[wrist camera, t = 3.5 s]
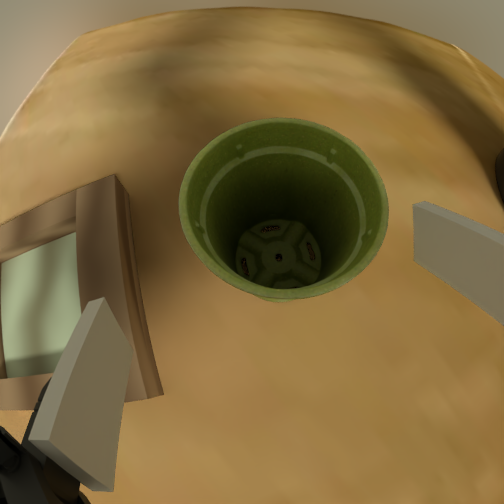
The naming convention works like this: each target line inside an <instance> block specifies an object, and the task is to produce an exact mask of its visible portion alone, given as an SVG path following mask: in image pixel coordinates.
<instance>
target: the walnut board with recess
mask: <svg viewBox="0 0 504 504" xmlns="http://www.w3.org/2000/svg"><path fill="white" fill-rule="evenodd" d="M103 297H105V299H106V301H107V303H108V305H109V307H110V309H111V311H112V313H113V315H114V317H115V319H116V320H117V322H118V324H119V326H120V328H121V330H122V331H123V333H124V335H125V337H126V338H127V340H128V342H129V344H130V345H131V347H132V349H133V356H132V361H131V366H130V371H129V377H128V382H127V388H126V394H125V400H124V402H131V401H138V400H144V399H149V398H153V397H157V396H161V395H164V393H163V389H162V386H161V382H160V378H159V374H158V370H157V366H156V362H155V358H154V354H153V350H152V345H151V341H150V336H149V332H148V327H147V322H146V317H145V312H144V307H143V301H142V296H141V290H140V284H139V278H138V272H137V265H136V258H135V251H134V243H133V235H132V226H131V216H130V206H129V194H128V193H127V191H126V190H125V189H124V187H123V186H122V184H121V183H120V181H119V180H118V179H117V177H116V176H115V174H113V175H111V176H108V177H105V178H103V179H100V180H98V181H95V182H93V183H90V184H88V185H85V186H83V187H81V188H78V189H76V190H74V191H71V192H69V193H67V194H65V195H62V196H60V197H58V198H56V199H53V200H51V201H49V202H47V203H45V204H43V205H41V206H39V207H37V208H35V209H32V210H30V211H28V212H26V213H24V214H23V215H21V216H19V217H17V218H15V219H13V220H11V221H9V222H7V223H5V224H4V225H2V226H0V410H34V407H35V405H36V402H38V397H39V395H40V393H41V390H42V388H43V387H44V386H45V384H46V383H47V382H48V380H49V379H50V378H51V377H52V376H53V373H54V371H55V369H56V367H57V364H58V362H59V360H60V358H61V356H62V353H63V351H64V349H65V347H66V345H67V343H68V341H69V339H70V337H71V335H72V333H73V331H74V329H75V327H76V325H77V323H78V321H79V319H80V317H81V315H82V313H83V311H84V309H85V308H86V306H87V304H88V302H89V301H93V300H96V299H99V298H103Z"/></svg>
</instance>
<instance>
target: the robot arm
mask: <svg viewBox="0 0 504 504" xmlns="http://www.w3.org/2000/svg"><path fill="white" fill-rule="evenodd" d="M496 177H497V182H498V186H499V190H500V193H501V196H502V198H503V201H504V149H503V150H502V151H501V152H500V154H499V155H498V157H497V159H496ZM413 223H414V261H415V262H416V263H418V264H419V265H421V266H422V267H424V268H425V269H427V270H428V271H429V272H431V273H432V274H434V275H435V276H437V277H438V278H440V279H441V280H443V281H444V282H445V283H447V284H448V285H450V286H451V287H453V288H454V289H455V290H457V291H458V292H460V293H461V294H462V295H464V296H465V297H466V298H468V299H469V300H471V301H472V302H473V303H475V304H476V305H477V306H479V307H480V308H481V309H483V310H484V311H485V312H487V313H488V314H489V315H490V316H492V317H493V318H494V319H496V320H497V321H498V322H499V323H501V324H502V325H503V326H504V234H502V233H500V232H498V231H496V230H494V229H492V228H489V227H487V226H485V225H483V224H480V223H478V222H476V221H474V220H471V219H469V218H467V217H464V216H462V215H459V214H457V213H454V212H452V211H449V210H447V209H444V208H442V207H439V206H437V205H434V204H431V203H429V202H426V201H423V202H420V203H417V204H413ZM132 356H133V349H132V347H131V345H130V344H129V342H128V340H127V338H126V337H125V335H124V333H123V331H122V330H121V328H120V326H119V324H118V322H117V320H116V319H115V317H114V315H113V313H112V311H111V309H110V307H109V305H108V303H107V301H106V299H105V297H103V298H99V299H96V300H93V301H89V302H88V304H87V306H86V308H85V309H84V311H83V313H82V315H81V317H80V319H79V321H78V323H77V325H76V327H75V329H74V331H73V333H72V335H71V337H70V339H69V341H68V343H67V345H66V347H65V349H64V351H63V353H62V356H61V358H60V360H59V362H58V364H57V367H56V369H55V371H54V373H53V376H52V377H51V378H50V379H49V380H48V382H47V383H46V384H45V386H44V387H43V388H42V390H41V393H40V395H39V397H38V402H36V405H35V407H34V412H32V415H31V418H30V420H29V423H28V426H27V429H26V431H25V434H24V437H23V440H22V443H21V444H20V443H19V442H18V441H17V440H15V439H14V438H13V437H12V436H11V435H10V434H9V433H8V432H7V431H6V430H5V429H4V428H3V427H1V426H0V504H91V503H90V502H89V500H88V499H87V497H86V496H85V495H84V494H83V493H82V492H81V491H79V488H80V483H82V484H83V485H85V486H86V487H88V488H89V489H91V490H92V491H106V492H114V479H115V468H116V458H117V449H118V441H119V433H120V426H121V419H122V412H123V406H124V400H125V394H126V388H127V382H128V377H129V371H130V366H131V361H132Z"/></svg>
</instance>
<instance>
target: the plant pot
mask: <svg viewBox="0 0 504 504" xmlns="http://www.w3.org/2000/svg"><path fill="white" fill-rule="evenodd" d="M179 216H180V221H181V226H182V229H183V232H184V234H185V237H186V239H187V241H188V243H189V245H190V246H191V248H192V250H193V251H194V252H195V254H196V255H197V256H198V258H199V259H200V260H201V261H202V263H203V264H204V265H205V266H206V267H207V268H208V269H209V270H211V271H212V272H213V273H214V274H215V275H216V276H218V277H219V278H221V279H222V280H224V281H225V282H227V283H228V284H230V285H232V286H234V287H236V288H238V289H240V290H242V291H245V292H248V293H250V294H253V295H255V296H257V297H259V298H261V299H264V300H267V301H271V302H286V301H291V300H294V299H304V298H310V297H315V296H318V295H322V294H325V293H328V292H330V291H333V290H335V289H337V288H339V287H341V286H342V285H344V284H346V283H348V282H349V281H350V280H352V279H353V278H354V277H356V276H357V275H358V274H359V273H361V272H362V271H363V270H364V269H365V268H366V267H367V266H368V265H369V264H370V262H371V261H372V260H373V258H374V257H375V256H376V254H377V252H378V251H379V249H380V247H381V245H382V243H383V240H384V237H385V234H386V231H387V226H388V216H389V207H388V198H387V193H386V189H385V186H384V184H383V181H382V179H381V177H380V175H379V173H378V171H377V169H376V167H375V166H374V164H373V163H372V161H371V160H370V159H369V158H368V157H367V156H366V155H365V153H364V152H363V151H362V150H361V149H360V148H359V147H358V146H357V145H356V144H355V143H353V142H352V141H351V140H349V139H348V138H346V137H345V136H343V135H341V134H340V133H338V132H336V131H335V130H333V129H330V128H328V127H326V126H323V125H320V124H317V123H314V122H310V121H306V120H301V119H292V118H270V119H261V120H256V121H251V122H247V123H244V124H241V125H239V126H236V127H234V128H231V129H229V130H228V131H226V132H224V133H222V134H221V135H219V136H218V137H216V138H215V139H213V140H212V141H211V142H210V143H208V144H207V145H206V146H205V147H204V148H203V149H202V150H201V151H200V152H199V153H198V154H197V155H196V157H195V158H194V159H193V161H192V162H191V164H190V166H189V167H188V169H187V171H186V173H185V176H184V178H183V181H182V184H181V188H180V192H179ZM268 226H279V227H280V229H279V230H272V231H267V232H265V233H262V232H261V230H262V229H263V228H265V227H268ZM307 242H308V243H310V244H311V247H312V249H313V251H314V253H315V259H314V260H311V259H310V254H309V251H308V247H307V246H306V243H307ZM276 254H281V255H282V260H281V261H277V260H276V259H275V256H276ZM243 258H246V263H247V268H248V271H249V274H250V275H249V276H247V275H245V273H244V271H243V267H242V265H241V261H242V259H243ZM292 287H297V288H294V289H289V288H292Z"/></svg>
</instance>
